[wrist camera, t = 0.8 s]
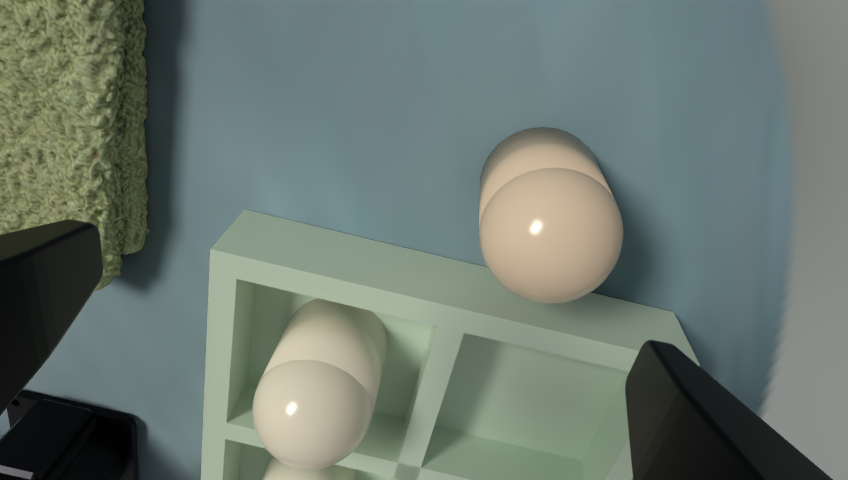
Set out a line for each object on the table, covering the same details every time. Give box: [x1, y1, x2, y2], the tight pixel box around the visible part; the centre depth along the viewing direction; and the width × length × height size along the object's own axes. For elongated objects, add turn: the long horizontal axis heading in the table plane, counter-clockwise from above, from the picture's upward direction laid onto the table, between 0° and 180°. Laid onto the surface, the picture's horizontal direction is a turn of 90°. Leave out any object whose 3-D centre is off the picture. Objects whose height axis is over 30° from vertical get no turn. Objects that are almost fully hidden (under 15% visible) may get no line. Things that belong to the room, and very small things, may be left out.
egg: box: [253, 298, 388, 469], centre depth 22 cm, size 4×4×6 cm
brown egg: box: [479, 127, 623, 304], centre depth 19 cm, size 4×4×6 cm
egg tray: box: [201, 210, 700, 480], centre depth 26 cm, size 18×18×3 cm
